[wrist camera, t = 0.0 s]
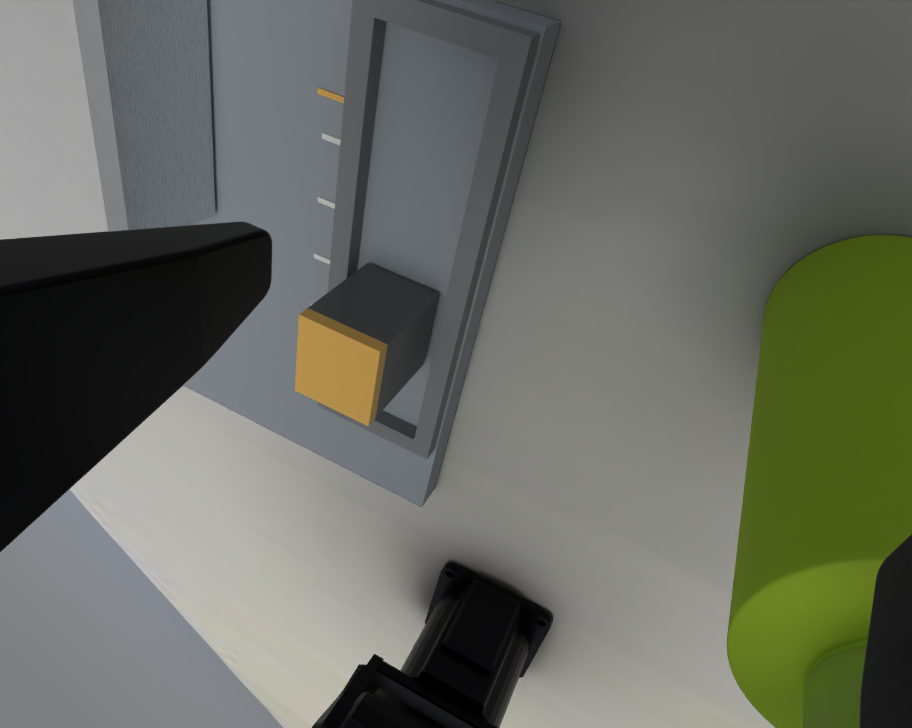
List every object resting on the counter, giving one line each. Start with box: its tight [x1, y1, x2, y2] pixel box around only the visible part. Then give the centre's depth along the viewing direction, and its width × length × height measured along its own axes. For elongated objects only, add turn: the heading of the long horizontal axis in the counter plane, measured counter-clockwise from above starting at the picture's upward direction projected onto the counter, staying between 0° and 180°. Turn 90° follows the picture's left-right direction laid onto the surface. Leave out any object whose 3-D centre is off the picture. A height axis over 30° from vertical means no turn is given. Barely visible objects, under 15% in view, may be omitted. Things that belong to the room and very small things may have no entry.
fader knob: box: [295, 263, 439, 426], centre depth 24 cm, size 4×3×4 cm
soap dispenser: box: [727, 235, 912, 728], centre depth 13 cm, size 6×7×20 cm
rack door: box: [73, 0, 215, 231], centre depth 23 cm, size 10×2×4 cm, turn 168°
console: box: [183, 0, 561, 507], centre depth 26 cm, size 22×16×6 cm
